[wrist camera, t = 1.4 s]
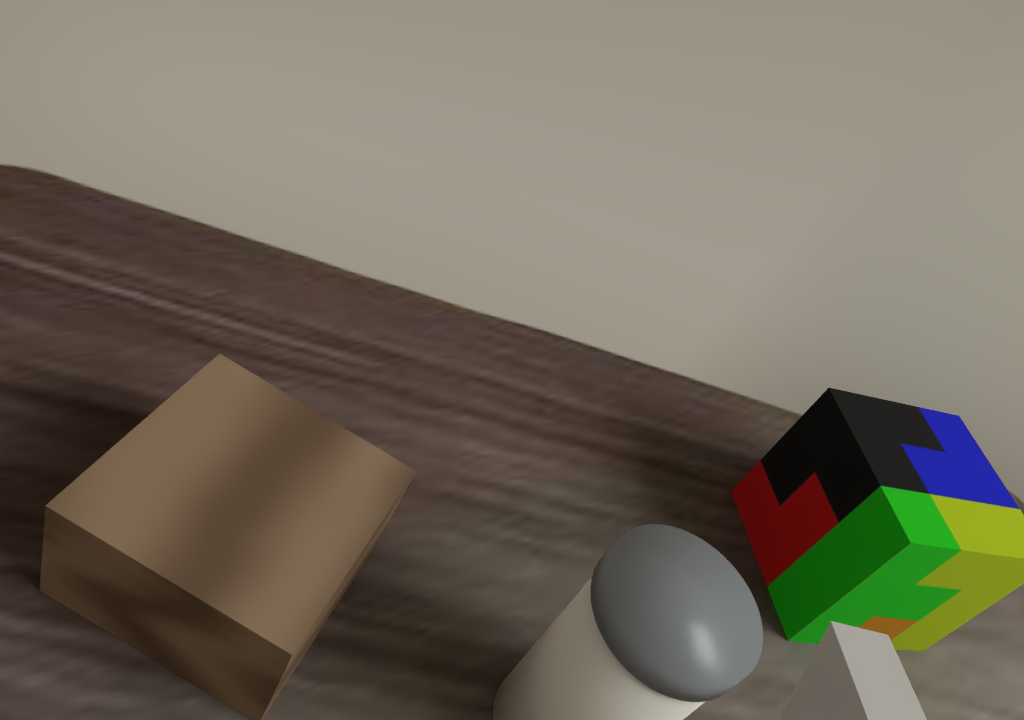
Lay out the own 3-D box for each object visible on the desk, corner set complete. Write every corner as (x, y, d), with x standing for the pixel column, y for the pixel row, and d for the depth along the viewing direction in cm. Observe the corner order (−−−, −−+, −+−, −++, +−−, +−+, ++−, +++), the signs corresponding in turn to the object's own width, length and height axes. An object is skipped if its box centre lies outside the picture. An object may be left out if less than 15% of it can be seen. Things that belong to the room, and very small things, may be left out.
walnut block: (39, 593, 33) (45, 505, 29) (198, 438, 41) (219, 353, 37) (258, 726, 33) (292, 655, 29) (376, 545, 41) (415, 470, 37)
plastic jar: (465, 749, 35) (582, 618, 28) (520, 632, 40) (631, 495, 33) (597, 834, 35) (749, 723, 28) (635, 705, 40) (773, 583, 33)
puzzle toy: (852, 510, 57) (959, 416, 51) (921, 651, 50) (1054, 562, 44) (730, 492, 53) (828, 387, 47) (786, 641, 47) (910, 543, 40)
